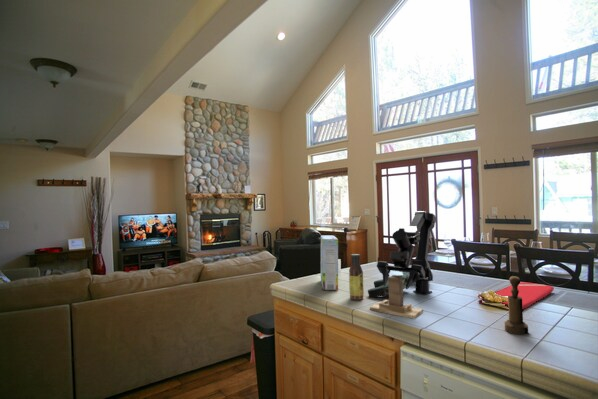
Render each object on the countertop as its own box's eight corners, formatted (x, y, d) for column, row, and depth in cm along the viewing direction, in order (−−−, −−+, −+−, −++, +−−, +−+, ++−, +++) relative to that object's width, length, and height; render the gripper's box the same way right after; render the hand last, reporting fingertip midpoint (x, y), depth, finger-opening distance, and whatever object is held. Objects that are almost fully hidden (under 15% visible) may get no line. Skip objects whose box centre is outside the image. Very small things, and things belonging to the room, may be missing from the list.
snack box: (340, 290, 164) (338, 238, 164) (322, 291, 164) (321, 239, 164) (335, 280, 185) (334, 234, 186) (320, 280, 186) (319, 234, 186)
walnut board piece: (393, 305, 135) (393, 275, 135) (403, 307, 133) (402, 276, 133) (389, 308, 131) (388, 277, 131) (398, 310, 129) (398, 278, 129)
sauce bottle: (363, 300, 146) (362, 255, 146) (349, 300, 147) (348, 255, 147) (363, 296, 152) (362, 253, 153) (349, 296, 153) (348, 253, 154)
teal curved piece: (374, 278, 169) (414, 271, 161) (377, 290, 168) (418, 284, 161) (366, 287, 151) (410, 281, 143) (369, 302, 150) (414, 296, 142)
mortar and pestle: (500, 327, 112) (498, 274, 112) (517, 326, 112) (516, 273, 113) (514, 335, 105) (512, 278, 105) (533, 334, 106) (531, 278, 106)
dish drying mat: (477, 304, 139) (477, 295, 139) (517, 287, 164) (516, 280, 164) (519, 313, 127) (519, 303, 127) (555, 294, 151) (555, 286, 151)
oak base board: (380, 303, 141) (379, 296, 141) (422, 311, 130) (422, 304, 130) (370, 309, 134) (369, 302, 134) (414, 318, 122) (414, 310, 122)
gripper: (377, 242, 141) (366, 272, 133) (421, 244, 130) (412, 278, 121) (385, 258, 147) (375, 288, 139) (428, 261, 136) (420, 295, 127)
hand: (394, 287), depth 131 cm, fingers open, 9 cm apart
